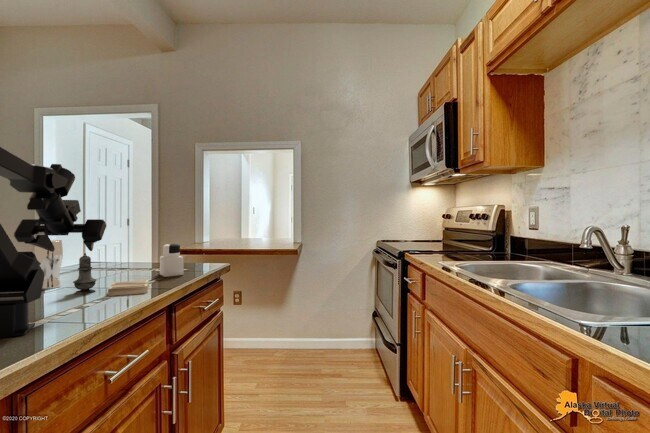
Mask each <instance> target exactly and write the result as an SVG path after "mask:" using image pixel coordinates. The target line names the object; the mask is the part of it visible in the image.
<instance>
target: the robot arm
mask: <svg viewBox="0 0 650 433" xmlns="http://www.w3.org/2000/svg"><path fill="white" fill-rule="evenodd" d="M0 177H1V178H4V179H6V180H8V181H9V186H10V187H12V188H13V189H14V190H16V191H17V192H19V193H25V194H26V193H27V194H28V193H31V195H30V197H29V202H28V203H27V205H26V206H27V207H26V209H27V211H28V210H29V211H30V210H31V211H34V212H36V215H37V216H38V217H39V218H37V219H36V218H35V219H34V218H33V219H31V218H30V219H29V218H27V219H25V218H23V219H22V220H21V221H20V222H19V224H18V225H17V227H16V228H15V230H14V232H13V237H14V239H15V240H16V241H17V242H18V243H24V244H28V245H32V246H34V247H35V246H38V247H41V248H43V249H46V250H48V251H51V252H54V250H55V248H54V245H53V243H52V242H51V240H52V239H51V238H50V237H49V236H69V234H71V233H72V234H74V233H76V234H77V233H80V234H81V238H82V240H83V244H84V245H85V246H86V248H87V249H88V251H90V252H93V249H94V244H95V243H97V242H99V241H101V240H102V239H103V237H104V233H105V231H106V228H107V224H106V221H105V220H104V219H99V218H98V219H95V218H94V219H90V218H89V219H86V221H85V223H76V222H77V221H78V216H77V215H78V214H79V213H81V211H82V210H81V206H80V202H79V199H63V198H64V197H67V196H68V195H69V192H70V190H71V188H72V186H73V184H74V182H75V180H76V175H75V174H74V173H73V172H72V171H71V170H69V169H67V168H65V167H63V165H62V164H60V163H51V165H50V167H49V166H45V165H38V164H32V163H30V162H28V161H26V160H25V159H22V157H19V156H18V155H15V154H14V153H12V152H10V151H9V150H7V149H5V148H3V147H2V146H0ZM74 222H75V223H74ZM39 265H41V263H40V262H38V260H37V258H36V256H35V252H33V251H18V250H17V248H16V247H15V245H14V243H13V242H12V240H11V239H10V237H9V235H8V234H7V232H6V230H5V228H4V227H3V226H2V224H1V223H0V338H7V337H8V338H9V337H15V336H16V337H17V336H24V335H26V334H27V333H28V332H29V331H31V330H32V329H33V328H34V327H35V326H36V323H35V322H34V323H33V322H31V323H29V322H30V321H29V317H30V316H29V315H30V314H29V313H30V311H29V309H30V308H29V304H30V303H31V302H34V301H36V300H39V299H40V298H42V292H43V289H42V287H43V282H44V271H43V270H42V269H41V267H40V266H39Z"/></svg>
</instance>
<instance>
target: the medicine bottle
mask: <svg viewBox="0 0 650 433" xmlns="http://www.w3.org/2000/svg"><path fill="white" fill-rule="evenodd" d="M184 262H185V261H184V256H181V245H179V243H177V244H176V243H167V244H164V245H163V246H162V255H161V256H159V275H160V276H162V277H164V278H166V277H178V276H183V275H184Z"/></svg>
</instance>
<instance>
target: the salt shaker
mask: <svg viewBox="0 0 650 433" xmlns="http://www.w3.org/2000/svg"><path fill="white" fill-rule="evenodd" d="M91 259H92V258H91V257H90V256H88V255H87V253H86V252H84V253H83V255H82V256H81V257H79V259H78V260H79V262H78V265H79V266H78V268H77V270H78V277H77V279H76V280H73V281H72V283H73V285H74V288H75V289H77V290H76V291H75V292H74V293H73V294H74V295H78V296H79V295H89V294H95V293H96V289H95V290H94V289H92V288H94V286H96V283H97V281H98V280H97V278H94V277H93V276H92V269H93V267H92V262H91V261H92V260H91Z"/></svg>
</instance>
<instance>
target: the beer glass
mask: <svg viewBox="0 0 650 433" xmlns="http://www.w3.org/2000/svg"><path fill="white" fill-rule="evenodd" d="M50 240H51V242H52V243H53V245H54V248H55V250H54V252H51V251H48V250H46V249H43V248H41V247H38V246H35V245H34V254H35V256H36V258H37V260H38V262H40V263H41V265H39V266H40V267H41V269H42V270H43V271H44V282H43V287H42V290H50V289H56V288H60V287H61V286H62V284H61V279H60V272H61V267H62V263H63V252H64V251H63V242H62V240H61V239H50Z"/></svg>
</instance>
